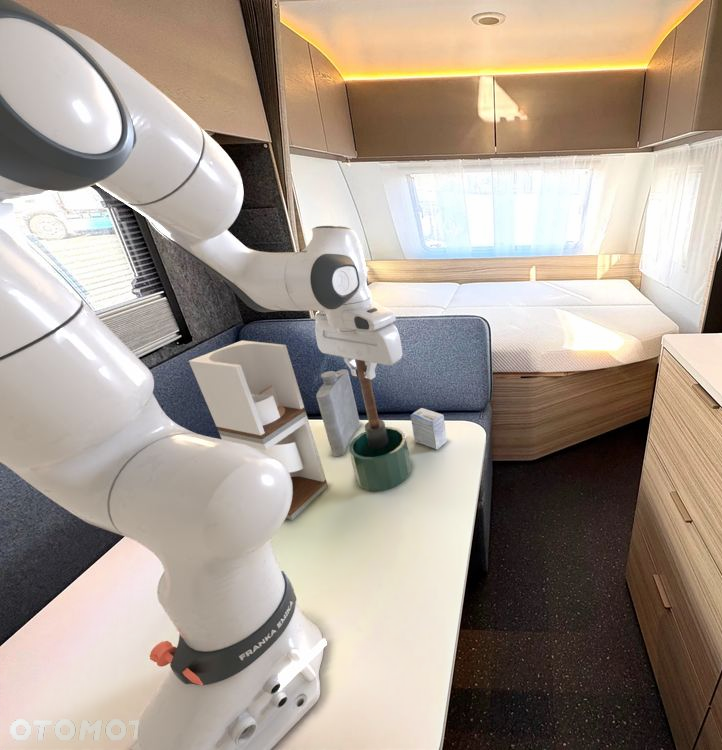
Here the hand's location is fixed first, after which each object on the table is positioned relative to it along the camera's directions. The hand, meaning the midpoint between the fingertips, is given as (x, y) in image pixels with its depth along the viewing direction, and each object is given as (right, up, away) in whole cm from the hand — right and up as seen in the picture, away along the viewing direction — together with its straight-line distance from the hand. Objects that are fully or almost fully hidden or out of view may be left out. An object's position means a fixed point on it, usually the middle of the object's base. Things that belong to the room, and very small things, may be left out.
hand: (364, 376), depth 81 cm
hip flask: (-14, -17, +25) cm, 34 cm away
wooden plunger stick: (+1, -15, +7) cm, 17 cm away
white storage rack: (-18, -27, +5) cm, 33 cm away
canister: (+1, -23, +11) cm, 26 cm away
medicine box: (+10, -18, +22) cm, 30 cm away
